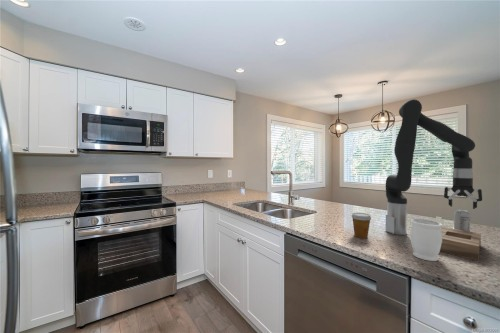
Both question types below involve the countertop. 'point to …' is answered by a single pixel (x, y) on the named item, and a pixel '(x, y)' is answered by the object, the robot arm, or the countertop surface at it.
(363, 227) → the disposable coffee cup
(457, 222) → the energy drink can
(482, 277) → the countertop surface
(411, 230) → the jar
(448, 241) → the cutout shelf
